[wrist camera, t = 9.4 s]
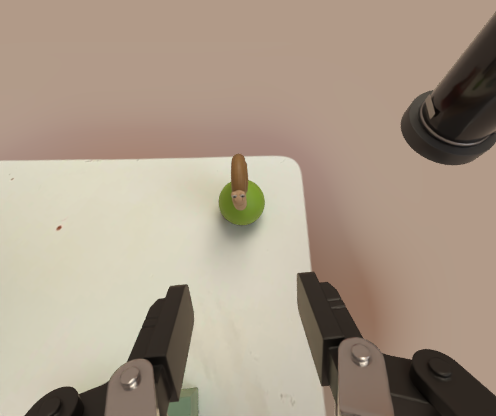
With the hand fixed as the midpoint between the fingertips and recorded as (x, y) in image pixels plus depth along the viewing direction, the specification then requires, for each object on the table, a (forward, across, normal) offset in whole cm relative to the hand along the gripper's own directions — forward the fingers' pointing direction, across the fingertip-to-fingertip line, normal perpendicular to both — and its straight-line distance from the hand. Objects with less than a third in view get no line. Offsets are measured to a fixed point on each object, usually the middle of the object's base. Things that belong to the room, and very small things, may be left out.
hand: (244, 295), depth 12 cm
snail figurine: (+21, 0, -5) cm, 21 cm away
